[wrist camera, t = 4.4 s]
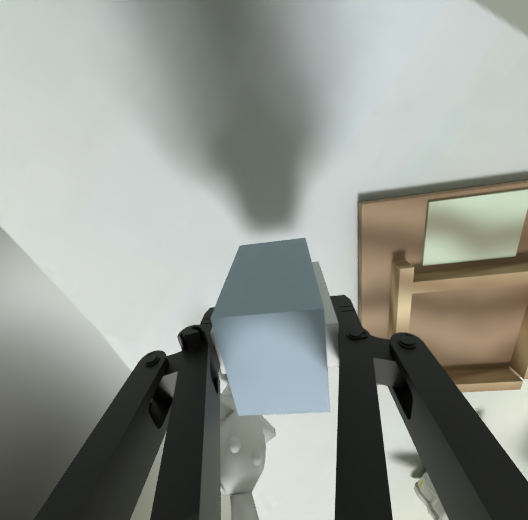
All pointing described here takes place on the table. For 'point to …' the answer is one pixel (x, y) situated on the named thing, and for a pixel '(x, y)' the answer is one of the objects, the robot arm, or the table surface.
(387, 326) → the jig
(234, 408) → the bunny figurine
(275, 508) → the table surface
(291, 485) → the table surface
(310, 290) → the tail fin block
